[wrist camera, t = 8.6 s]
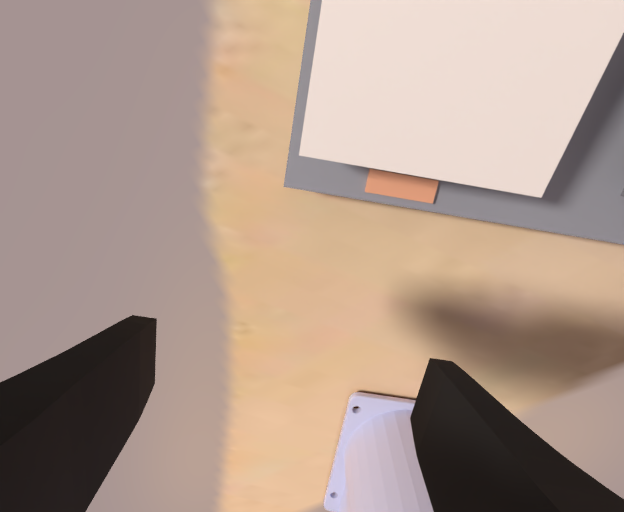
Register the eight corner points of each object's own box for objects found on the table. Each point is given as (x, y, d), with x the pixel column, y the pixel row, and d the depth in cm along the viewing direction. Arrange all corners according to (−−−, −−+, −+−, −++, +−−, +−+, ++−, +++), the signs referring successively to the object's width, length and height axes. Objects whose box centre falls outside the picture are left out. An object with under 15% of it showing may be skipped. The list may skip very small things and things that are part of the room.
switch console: (712, 252, 20) (797, 282, 17) (286, 179, 19) (280, 194, 15) (849, 6, 16) (996, -23, 13) (328, -104, 15) (332, -169, 12)
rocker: (519, 180, 16) (541, 197, 14) (301, 141, 16) (298, 155, 14) (614, -28, 12) (657, -36, 11) (336, -86, 12) (337, -104, 10)
